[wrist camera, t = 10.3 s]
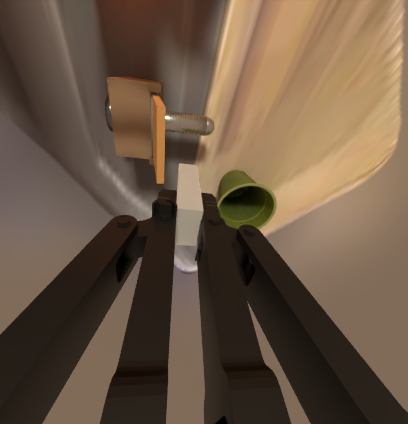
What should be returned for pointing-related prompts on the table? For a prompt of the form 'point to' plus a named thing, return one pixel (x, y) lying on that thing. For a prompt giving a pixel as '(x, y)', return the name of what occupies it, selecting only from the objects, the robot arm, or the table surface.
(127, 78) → the hitch block
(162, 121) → the plate
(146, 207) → the table surface
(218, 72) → the table surface
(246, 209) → the plant pot
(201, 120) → the pin
